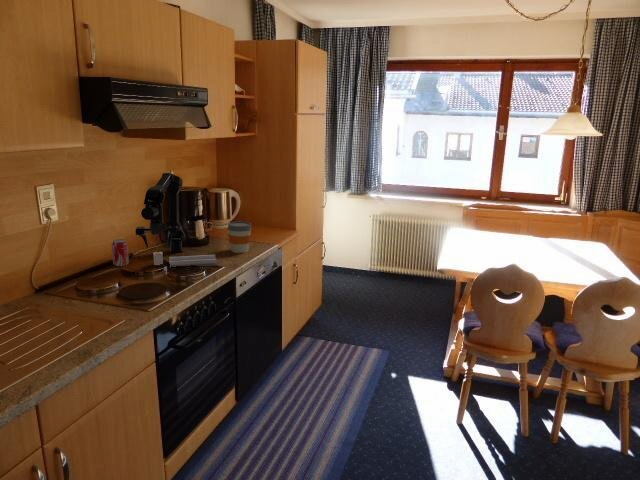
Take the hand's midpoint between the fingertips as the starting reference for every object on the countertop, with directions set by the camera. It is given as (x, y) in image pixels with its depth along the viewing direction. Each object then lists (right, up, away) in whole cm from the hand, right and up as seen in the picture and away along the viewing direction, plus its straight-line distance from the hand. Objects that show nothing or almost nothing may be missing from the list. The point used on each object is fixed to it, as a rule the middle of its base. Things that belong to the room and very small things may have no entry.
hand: (157, 247), depth 224 cm
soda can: (-18, -8, 0) cm, 20 cm away
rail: (+15, -8, +6) cm, 18 cm away
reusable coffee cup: (+34, -2, +33) cm, 47 cm away
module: (0, -9, +2) cm, 9 cm away
